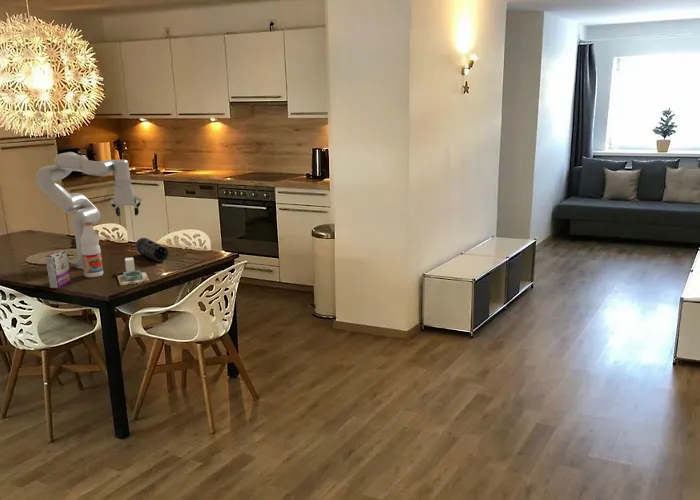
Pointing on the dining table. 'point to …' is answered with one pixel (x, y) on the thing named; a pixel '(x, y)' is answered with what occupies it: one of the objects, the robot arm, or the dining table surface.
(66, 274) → the candy bar box
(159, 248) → the muzzle brake
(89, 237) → the fruit juice
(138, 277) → the holder
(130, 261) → the block
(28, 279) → the dining table surface
